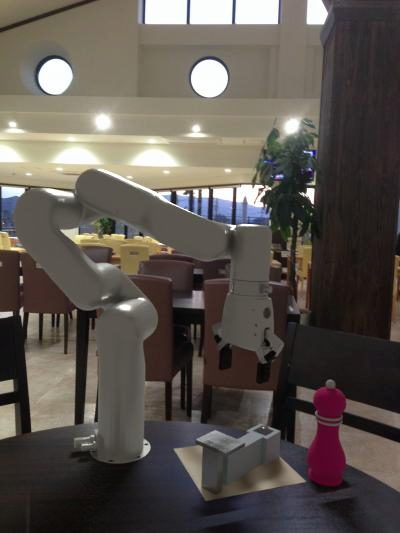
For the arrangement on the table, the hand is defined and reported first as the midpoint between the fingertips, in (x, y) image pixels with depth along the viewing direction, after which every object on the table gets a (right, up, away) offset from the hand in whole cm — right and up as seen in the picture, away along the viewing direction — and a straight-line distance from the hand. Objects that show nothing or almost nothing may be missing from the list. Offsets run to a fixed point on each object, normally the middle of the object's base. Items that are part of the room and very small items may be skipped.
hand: (243, 375), depth 87 cm
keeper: (-5, -19, -6) cm, 21 cm away
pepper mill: (+15, -20, -2) cm, 25 cm away
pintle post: (+4, -19, +4) cm, 20 cm away
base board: (-1, -19, +1) cm, 19 cm away
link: (+1, -18, 0) cm, 18 cm away
